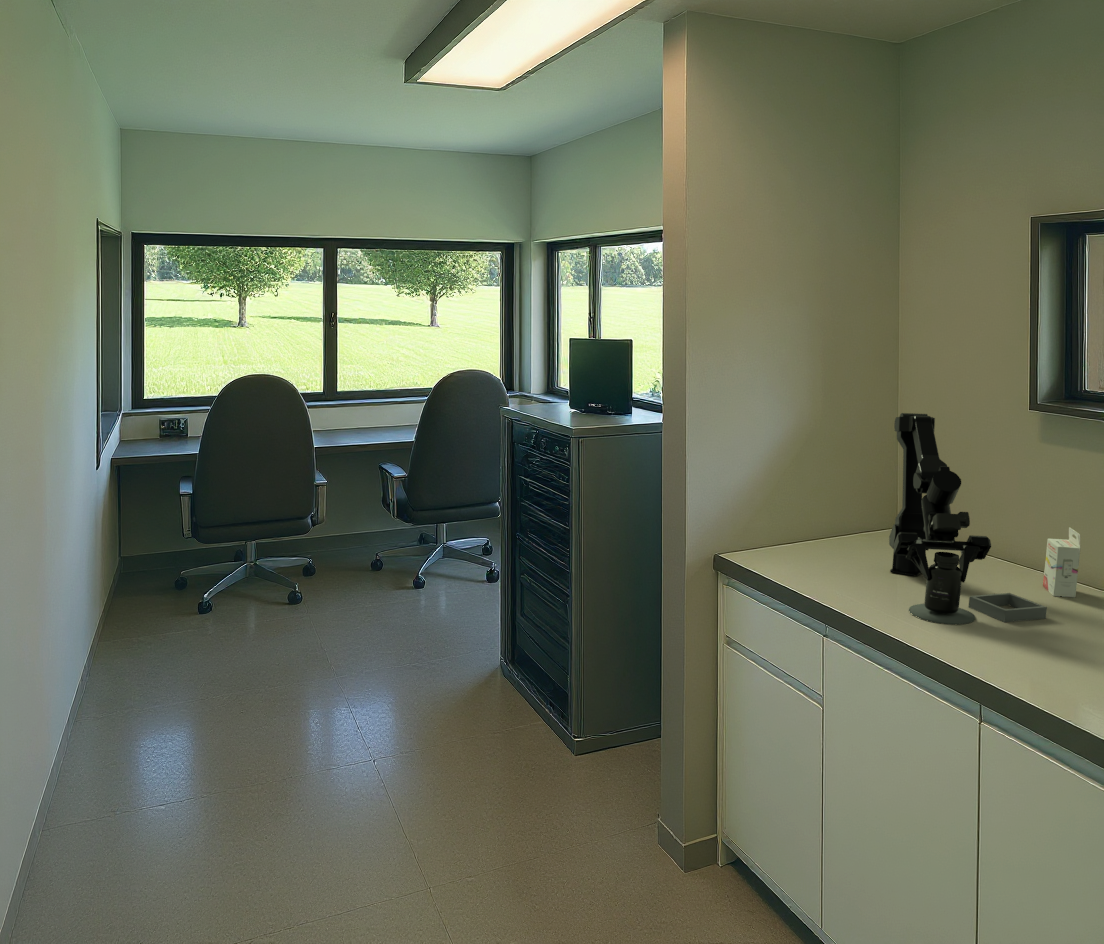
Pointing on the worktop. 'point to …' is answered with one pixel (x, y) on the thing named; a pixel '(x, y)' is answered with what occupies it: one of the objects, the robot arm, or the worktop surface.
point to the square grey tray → (1020, 613)
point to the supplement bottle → (944, 584)
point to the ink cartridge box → (1062, 565)
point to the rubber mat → (942, 615)
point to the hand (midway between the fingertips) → (946, 580)
